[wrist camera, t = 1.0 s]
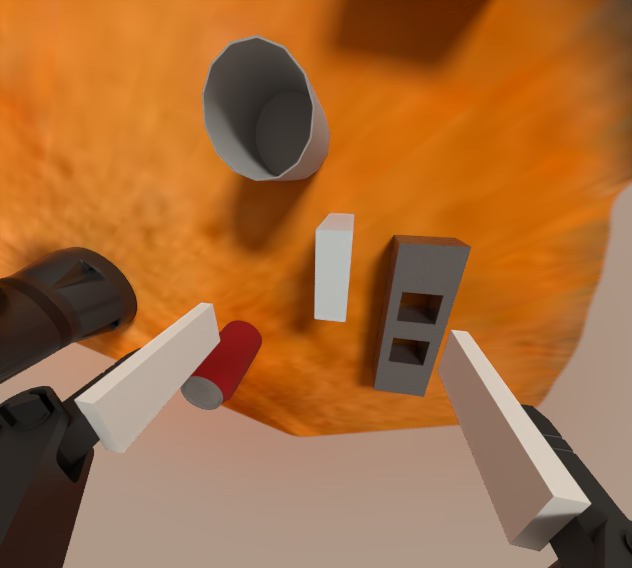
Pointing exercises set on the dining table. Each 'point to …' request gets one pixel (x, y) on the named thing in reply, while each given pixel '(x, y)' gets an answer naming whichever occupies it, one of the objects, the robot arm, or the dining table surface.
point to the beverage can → (223, 366)
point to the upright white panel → (333, 266)
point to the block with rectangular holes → (416, 310)
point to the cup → (264, 112)
